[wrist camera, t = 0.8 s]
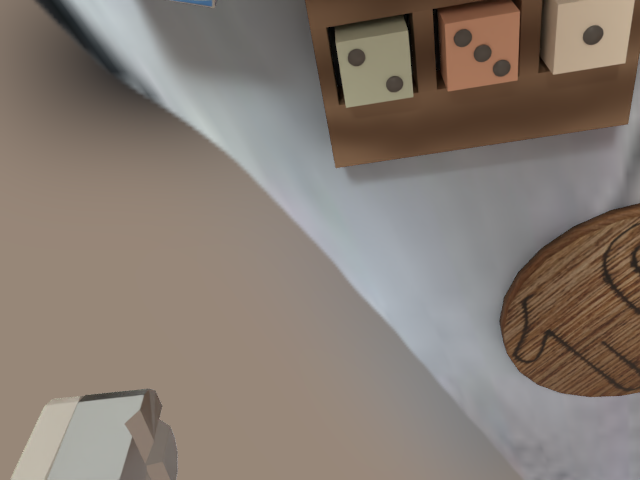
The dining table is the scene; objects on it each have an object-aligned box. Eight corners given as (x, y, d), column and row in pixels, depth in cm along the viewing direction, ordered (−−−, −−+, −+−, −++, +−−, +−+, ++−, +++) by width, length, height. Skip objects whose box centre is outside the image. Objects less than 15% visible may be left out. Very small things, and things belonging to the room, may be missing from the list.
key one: (543, -11, 39) (558, 5, 37) (616, -24, 39) (636, -9, 36) (539, 56, 42) (553, 75, 40) (607, 45, 41) (625, 63, 39)
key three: (437, 7, 40) (445, 24, 37) (507, -5, 39) (520, 12, 37) (440, 72, 43) (448, 92, 40) (506, 61, 42) (518, 81, 40)
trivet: (608, 409, 71) (614, 423, 69) (446, 325, 61) (449, 339, 60) (823, 276, 58) (837, 290, 56) (659, 145, 49) (670, 158, 47)
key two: (334, 25, 40) (335, 43, 38) (402, 13, 40) (408, 31, 38) (344, 88, 43) (346, 108, 41) (408, 77, 43) (413, 97, 40)
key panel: (296, -66, 38) (295, -53, 36) (645, -132, 36) (668, -124, 34) (334, 147, 48) (335, 168, 46) (611, 104, 46) (628, 124, 44)
